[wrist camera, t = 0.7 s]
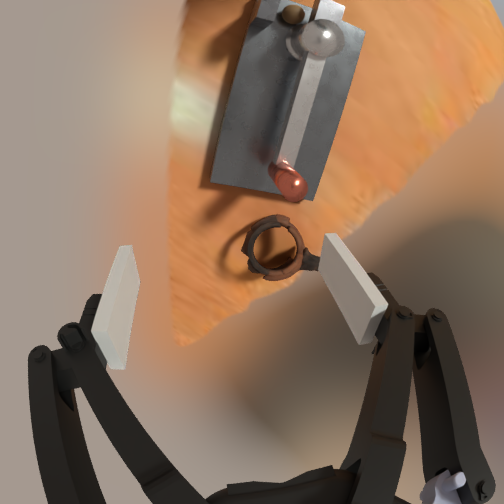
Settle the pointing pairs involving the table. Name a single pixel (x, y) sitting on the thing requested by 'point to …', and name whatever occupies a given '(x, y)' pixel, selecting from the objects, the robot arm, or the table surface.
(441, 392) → the robot arm
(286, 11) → the walnut
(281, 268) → the pottery mug
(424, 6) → the table surface
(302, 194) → the lever
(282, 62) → the base board
